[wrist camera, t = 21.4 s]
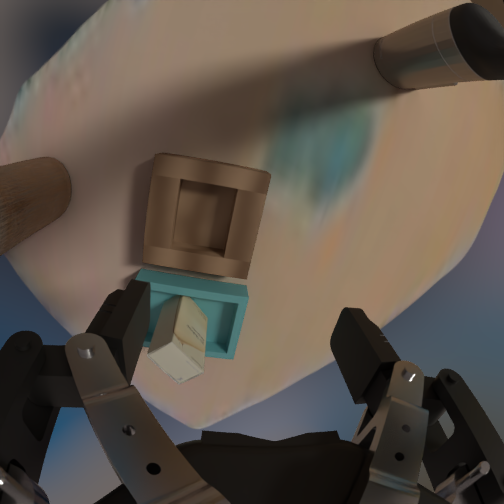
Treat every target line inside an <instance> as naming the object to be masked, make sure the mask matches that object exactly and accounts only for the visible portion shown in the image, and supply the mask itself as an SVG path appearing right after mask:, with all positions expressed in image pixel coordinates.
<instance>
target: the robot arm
mask: <svg viewBox="0 0 504 504" xmlns="http://www.w3.org/2000/svg"><path fill="white" fill-rule="evenodd" d="M503 2H504V0H503ZM374 59H375V63H376V66H377V68H378V70H379V72H380V73H381V74H382V76H383V77H384V78H385V79H386V80H387V81H388V82H389V83H391V84H392V85H394V86H396V87H398V88H401V89H410V88H415V89H417V90H420V89H427V88H436V87H445V86H455V85H457V83H458V82H470V81H484V80H504V29H503V27H502V26H501V24H500V23H499V22H498V21H497V19H496V18H495V17H494V16H493V15H492V14H491V13H490V12H489V11H487V10H486V9H485V8H483V7H482V6H480V5H477V4H474V3H465V4H462V5H459V6H456V7H453V8H450V9H447V10H445V11H442V12H440V13H437V14H434V15H432V16H429V17H427V18H424V19H422V20H420V21H417V22H415V23H413V24H410V25H408V26H406V27H404V28H402V29H399V30H397V31H395V32H393V33H391V34H389V35H387V36H385V37H383V38H381V39H380V40H378V41H377V43H376V45H375V48H374ZM150 298H151V284H150V282H146V281H140V280H134V279H132V280H131V281H130V283H129V284H128V286H127V288H126V289H125V290H119V289H117V290H116V291H114V292H112V293H111V294H109V295H108V297H107V298H106V300H105V301H104V303H103V304H102V306H101V308H100V309H99V311H98V312H97V314H96V316H95V317H94V319H93V320H92V322H91V324H90V325H89V327H88V329H87V330H86V332H85V333H81V334H77V335H75V336H73V337H71V338H70V339H69V340H68V341H67V343H66V345H62V346H57V345H43V343H42V340H41V338H40V336H39V335H38V334H36V333H35V332H32V331H20V332H17V333H15V334H13V335H12V336H11V337H10V338H9V339H8V340H7V341H6V343H5V344H4V346H3V347H2V349H1V350H0V504H50V503H49V499H48V496H47V495H46V493H45V491H44V490H43V489H42V488H41V487H40V486H39V485H38V482H39V478H40V474H41V470H42V466H43V462H44V458H45V455H46V451H47V448H48V445H49V441H50V438H51V435H52V432H53V429H54V426H55V423H56V420H57V417H58V414H59V411H60V408H61V407H83V408H84V410H85V412H86V414H87V416H88V419H89V421H90V424H91V425H92V428H93V430H94V432H95V434H96V436H97V438H98V440H99V442H100V445H101V447H102V449H103V450H104V453H105V454H106V456H107V458H108V460H109V462H110V464H111V466H112V468H113V469H114V471H115V473H116V475H117V476H118V478H119V480H120V481H121V483H122V484H121V485H120V486H118V487H117V488H116V489H114V490H113V491H111V492H110V493H109V494H107V495H106V496H104V497H103V498H101V499H100V500H98V501H97V502H95V503H94V504H504V444H503V442H502V440H501V438H500V436H499V435H498V433H497V431H496V430H495V428H494V426H493V425H492V423H491V421H490V420H489V418H488V416H487V415H486V413H485V412H484V410H483V409H482V407H481V406H480V404H479V402H478V401H477V399H476V398H475V396H474V395H473V393H472V392H471V390H470V389H469V387H468V386H467V385H466V383H465V382H464V380H463V379H462V377H461V376H460V375H459V374H458V373H456V372H455V371H453V370H451V369H442V370H441V371H440V372H439V374H438V375H437V376H436V378H433V377H427V376H424V374H423V372H422V371H421V369H420V368H419V367H418V366H416V365H415V364H413V363H411V362H409V361H401V359H400V358H399V356H398V355H397V354H396V352H395V351H394V349H393V348H392V346H391V345H390V343H389V342H388V340H387V339H386V337H385V336H383V333H382V332H381V330H380V329H379V327H378V326H376V325H375V324H374V323H373V322H372V321H370V320H369V319H368V317H367V316H366V314H365V313H364V311H363V310H362V309H360V308H348V307H345V308H344V309H343V310H342V311H341V314H340V316H339V319H338V321H337V324H336V326H335V328H334V331H333V333H332V336H331V340H330V347H331V350H332V352H333V355H334V357H335V359H336V361H337V364H338V366H339V368H340V371H341V373H342V375H343V377H344V379H345V382H346V384H347V386H348V389H349V391H350V394H351V396H352V398H353V401H354V403H355V404H363V403H367V407H366V409H365V410H364V412H363V415H362V417H361V420H360V422H359V425H358V427H357V429H356V432H355V434H354V436H353V439H352V441H351V442H349V441H345V440H340V438H339V435H338V433H337V431H328V432H315V433H305V434H302V435H298V436H295V437H291V438H288V439H284V440H279V441H270V440H265V439H260V438H255V437H252V436H247V435H243V434H239V433H226V432H213V431H202V436H201V440H193V441H189V442H185V443H181V444H178V445H176V446H175V444H174V443H173V442H172V440H171V439H170V438H169V436H168V435H167V434H166V432H165V431H164V430H163V428H162V427H161V425H160V424H159V422H158V421H157V419H156V418H155V416H154V415H153V414H152V412H151V410H150V409H149V407H148V406H147V404H146V403H145V401H144V399H143V398H142V396H141V395H140V393H139V391H138V390H137V389H136V387H135V386H134V385H130V384H131V380H132V377H133V374H134V371H135V367H136V364H137V361H138V358H139V355H140V352H141V349H142V346H143V343H144V340H145V337H146V334H147V331H148V328H149V323H150ZM445 411H447V412H448V414H449V416H450V418H451V419H452V421H453V423H454V426H455V429H454V433H453V435H452V436H451V437H450V438H449V439H448V438H447V436H446V435H445V433H444V431H443V429H442V427H441V425H440V423H439V421H438V419H439V418H440V417H441V416H442V415H443V414H444V412H445ZM422 461H423V463H424V466H425V468H426V471H427V473H428V476H429V478H430V481H431V483H432V486H433V488H434V491H435V493H433V492H431V491H430V490H428V489H427V488H425V487H423V486H422V485H420V484H419V483H417V481H418V476H419V472H420V467H421V462H422Z"/></svg>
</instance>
